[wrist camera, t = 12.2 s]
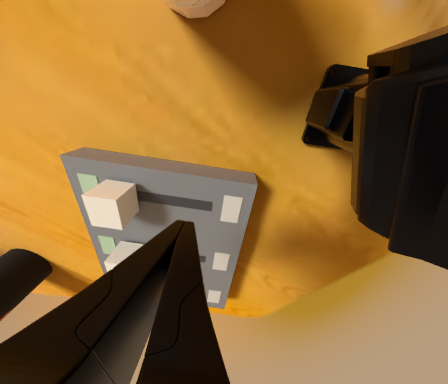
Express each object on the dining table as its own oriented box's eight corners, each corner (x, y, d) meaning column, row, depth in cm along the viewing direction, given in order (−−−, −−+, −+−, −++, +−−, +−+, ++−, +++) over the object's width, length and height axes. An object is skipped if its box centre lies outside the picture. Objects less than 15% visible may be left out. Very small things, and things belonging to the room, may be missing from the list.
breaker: (135, 183, 17) (115, 200, 14) (139, 210, 19) (122, 230, 16) (106, 179, 17) (81, 195, 14) (112, 206, 19) (91, 225, 16)
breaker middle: (143, 244, 22) (130, 265, 19) (146, 261, 23) (134, 283, 21) (120, 240, 22) (103, 262, 19) (125, 258, 23) (110, 280, 21)
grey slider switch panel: (254, 173, 19) (258, 185, 17) (225, 291, 32) (224, 309, 29) (83, 147, 19) (59, 155, 16) (121, 276, 32) (110, 293, 29)
